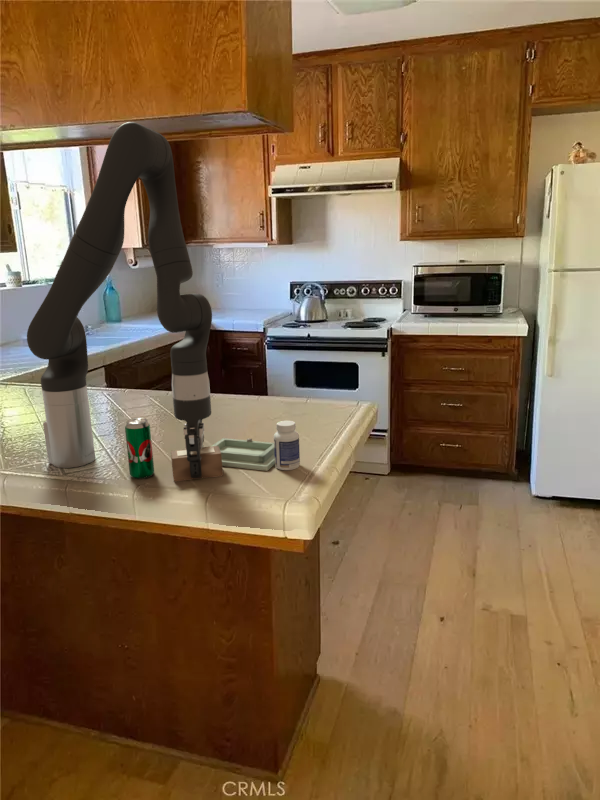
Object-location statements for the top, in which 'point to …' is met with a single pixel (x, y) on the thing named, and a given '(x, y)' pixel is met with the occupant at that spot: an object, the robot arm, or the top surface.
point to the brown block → (209, 463)
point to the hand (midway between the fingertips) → (197, 471)
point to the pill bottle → (286, 446)
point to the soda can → (139, 448)
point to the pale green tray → (246, 453)
